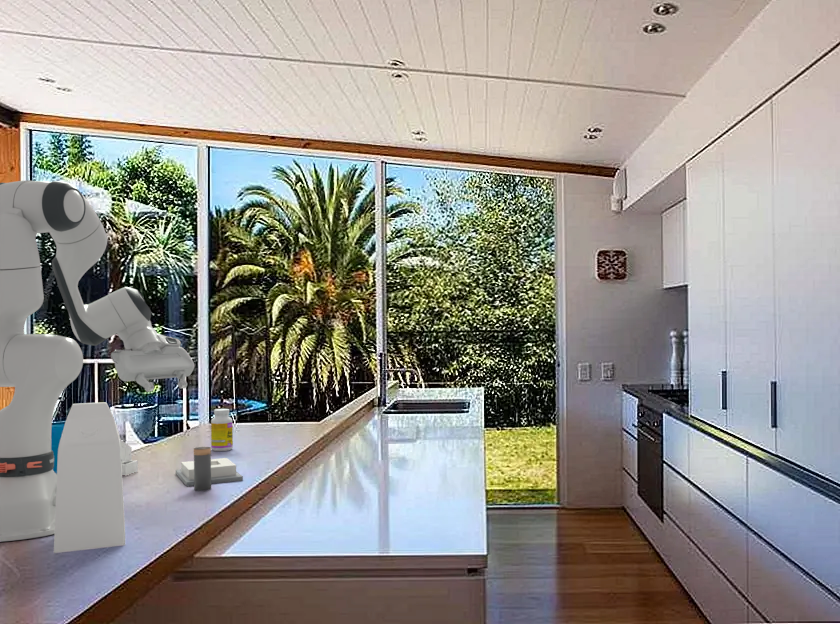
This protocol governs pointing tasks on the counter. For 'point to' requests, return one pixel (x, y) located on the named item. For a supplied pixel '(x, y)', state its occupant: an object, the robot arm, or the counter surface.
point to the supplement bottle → (221, 431)
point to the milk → (89, 481)
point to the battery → (202, 468)
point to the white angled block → (127, 459)
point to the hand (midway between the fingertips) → (167, 388)
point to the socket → (219, 472)
